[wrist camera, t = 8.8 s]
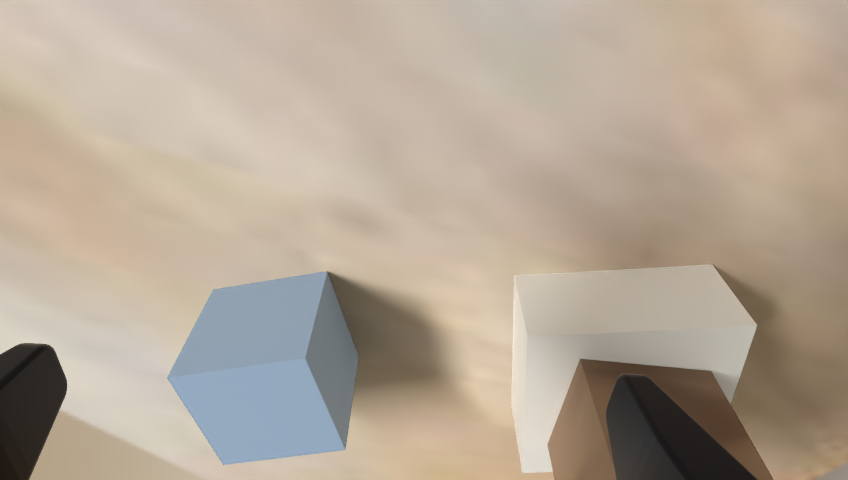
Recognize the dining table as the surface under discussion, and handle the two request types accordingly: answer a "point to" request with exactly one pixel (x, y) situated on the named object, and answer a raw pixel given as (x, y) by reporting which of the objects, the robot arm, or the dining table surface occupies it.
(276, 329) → the slate-blue cube
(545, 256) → the dining table surface
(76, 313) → the dining table surface
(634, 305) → the pedestal block
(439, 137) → the dining table surface
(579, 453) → the walnut cube
